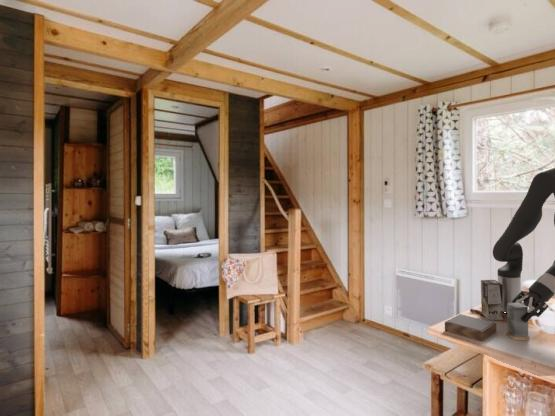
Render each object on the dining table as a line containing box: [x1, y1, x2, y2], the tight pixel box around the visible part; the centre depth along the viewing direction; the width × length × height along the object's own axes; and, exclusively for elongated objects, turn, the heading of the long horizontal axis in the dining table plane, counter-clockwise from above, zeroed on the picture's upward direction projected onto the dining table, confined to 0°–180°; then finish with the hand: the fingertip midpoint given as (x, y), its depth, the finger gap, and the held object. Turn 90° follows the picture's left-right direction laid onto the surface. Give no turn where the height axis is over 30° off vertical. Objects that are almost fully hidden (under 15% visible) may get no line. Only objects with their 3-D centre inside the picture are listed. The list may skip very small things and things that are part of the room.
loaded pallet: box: [506, 303, 530, 341], centre depth 147 cm, size 6×6×13 cm
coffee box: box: [480, 279, 504, 321], centre depth 169 cm, size 9×6×16 cm
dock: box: [444, 313, 497, 342], centre depth 155 cm, size 15×13×4 cm
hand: (516, 317), depth 146 cm, fingers open, 7 cm apart
